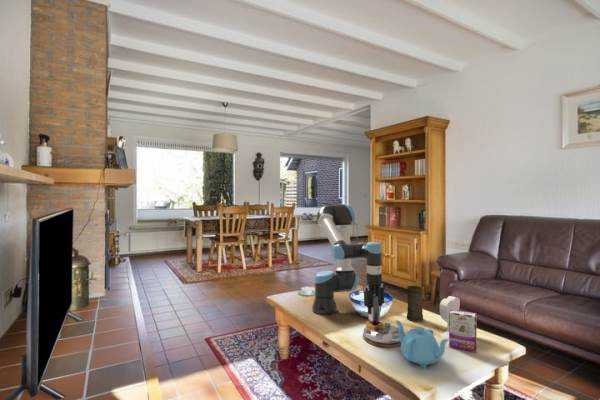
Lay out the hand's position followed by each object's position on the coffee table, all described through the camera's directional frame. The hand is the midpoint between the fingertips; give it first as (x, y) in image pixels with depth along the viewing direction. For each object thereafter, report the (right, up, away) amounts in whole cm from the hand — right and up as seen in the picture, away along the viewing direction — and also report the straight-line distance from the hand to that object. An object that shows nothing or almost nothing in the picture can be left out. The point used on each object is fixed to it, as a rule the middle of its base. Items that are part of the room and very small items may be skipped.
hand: (374, 318), depth 166 cm
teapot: (+14, -9, -26) cm, 31 cm away
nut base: (+3, -8, -5) cm, 10 cm away
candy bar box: (+37, -8, -15) cm, 41 cm away
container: (+28, -8, +20) cm, 35 cm away
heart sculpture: (+39, -8, +1) cm, 39 cm away
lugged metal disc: (+3, -7, -5) cm, 9 cm away
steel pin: (0, -4, 0) cm, 4 cm away
